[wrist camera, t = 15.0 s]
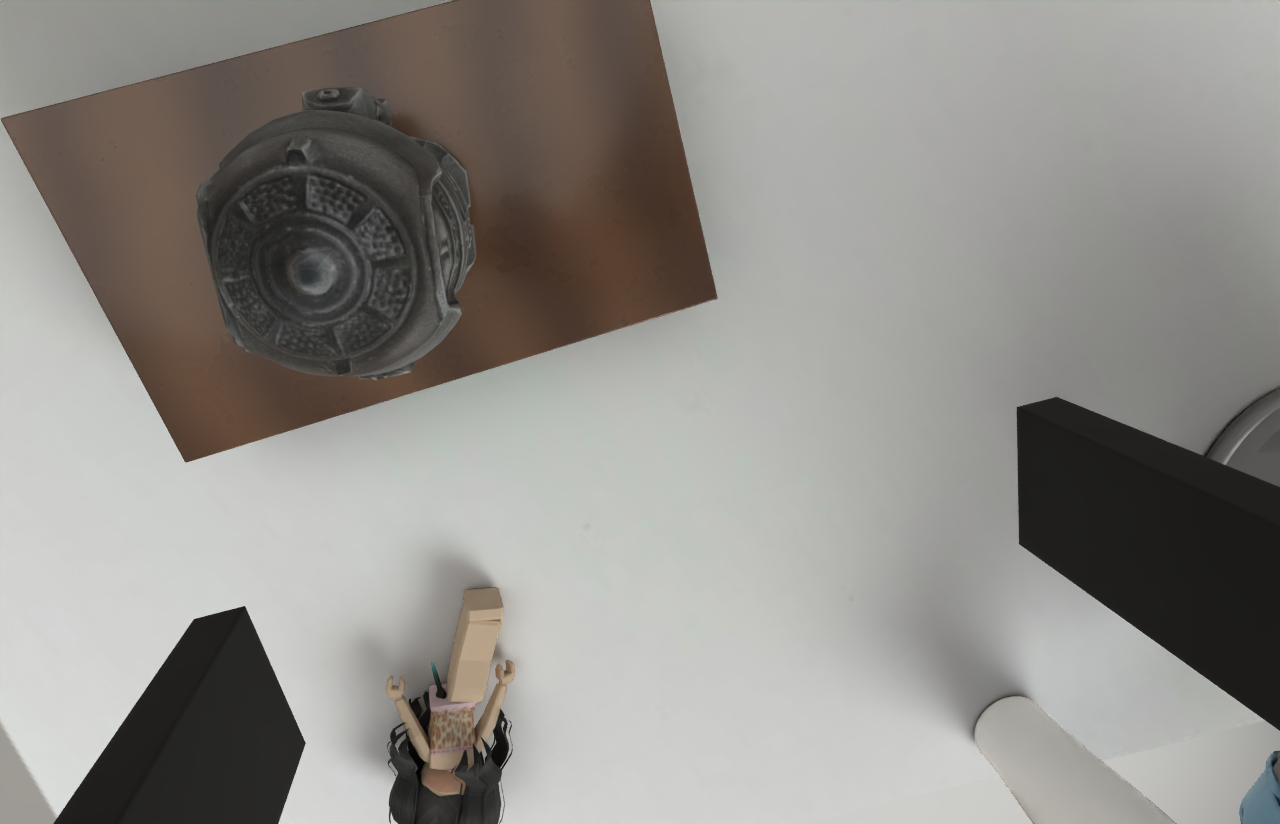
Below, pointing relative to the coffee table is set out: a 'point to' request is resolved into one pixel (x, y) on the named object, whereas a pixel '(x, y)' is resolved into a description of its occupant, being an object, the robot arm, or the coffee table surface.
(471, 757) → the toy figure
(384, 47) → the shelf
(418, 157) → the toy
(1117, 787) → the drinking glass
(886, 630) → the coffee table surface
